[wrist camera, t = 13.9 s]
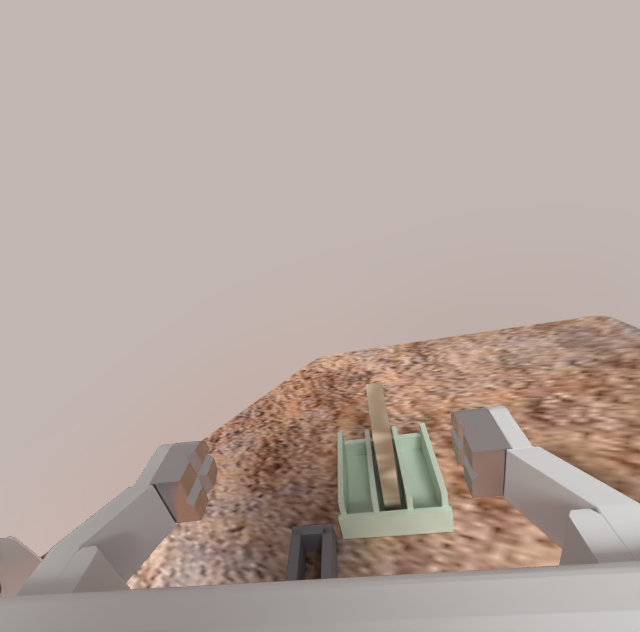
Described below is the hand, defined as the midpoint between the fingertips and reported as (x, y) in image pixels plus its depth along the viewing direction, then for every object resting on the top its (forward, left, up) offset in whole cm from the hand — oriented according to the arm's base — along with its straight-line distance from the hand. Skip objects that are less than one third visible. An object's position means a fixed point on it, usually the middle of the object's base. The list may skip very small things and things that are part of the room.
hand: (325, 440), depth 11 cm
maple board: (+2, +20, -29) cm, 35 cm away
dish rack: (+2, +20, -30) cm, 36 cm away
